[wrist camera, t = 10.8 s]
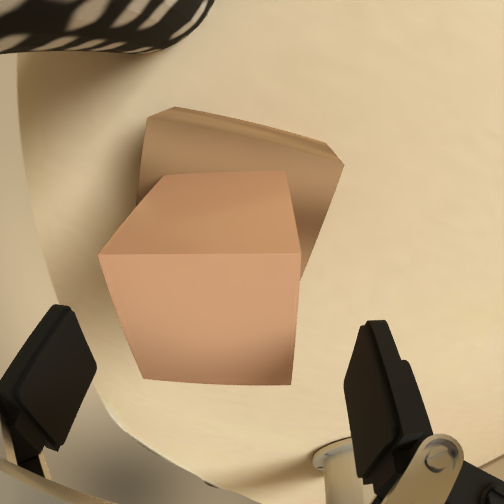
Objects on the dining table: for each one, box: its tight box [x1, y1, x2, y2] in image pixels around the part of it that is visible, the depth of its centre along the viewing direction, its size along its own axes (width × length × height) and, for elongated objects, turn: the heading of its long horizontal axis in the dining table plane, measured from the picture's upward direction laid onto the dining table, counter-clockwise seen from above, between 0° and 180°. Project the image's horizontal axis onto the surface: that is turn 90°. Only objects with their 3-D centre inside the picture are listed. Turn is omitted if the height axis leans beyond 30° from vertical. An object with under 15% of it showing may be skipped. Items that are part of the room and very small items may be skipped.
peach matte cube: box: [98, 171, 301, 385], centre depth 13 cm, size 6×6×7 cm
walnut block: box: [136, 107, 344, 280], centre depth 18 cm, size 9×9×5 cm
